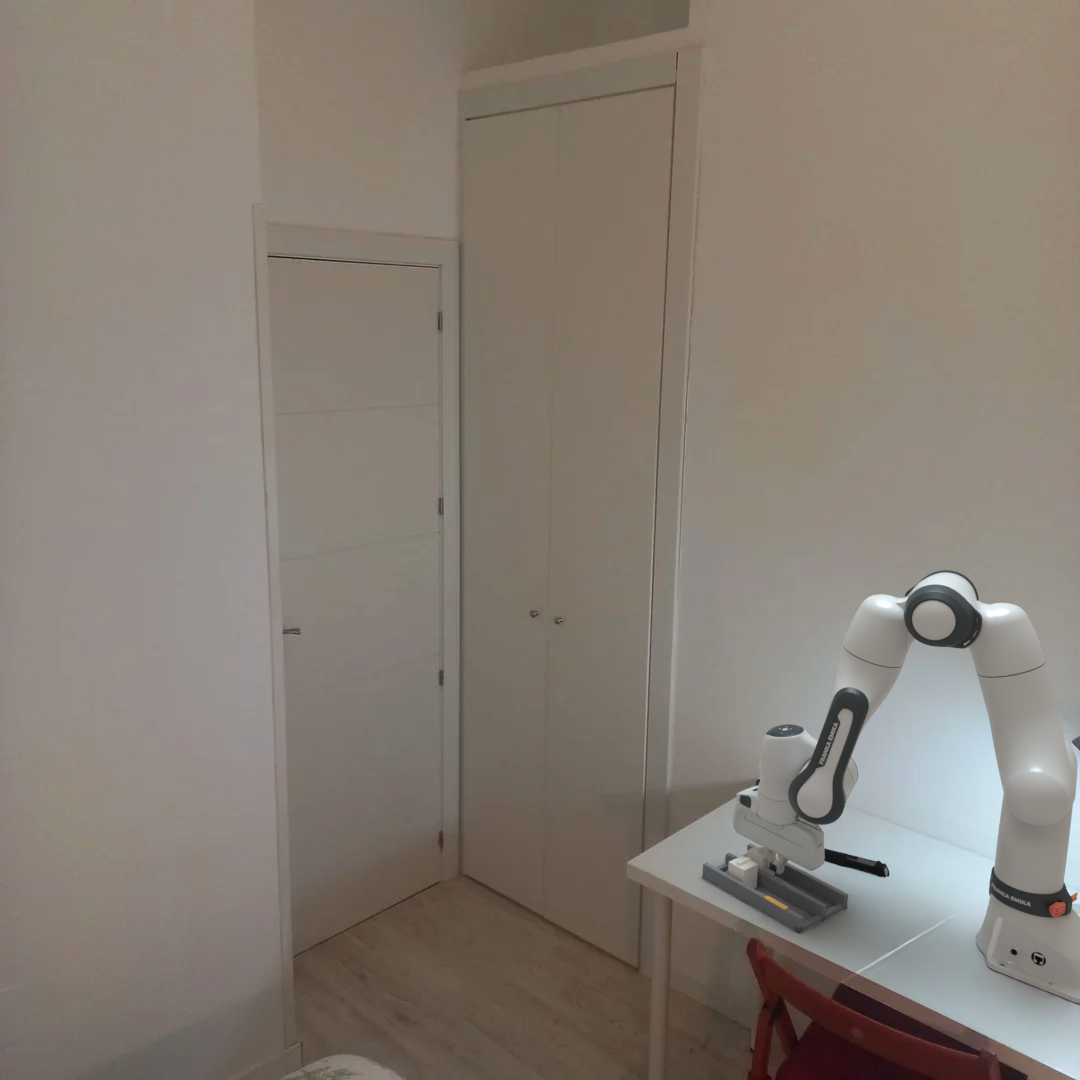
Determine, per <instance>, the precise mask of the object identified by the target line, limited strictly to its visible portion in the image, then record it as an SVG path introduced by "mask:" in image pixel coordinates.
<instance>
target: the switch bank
mask: <svg viewBox="0 0 1080 1080" xmlns="http://www.w3.org/2000/svg"><path fill="white" fill-rule="evenodd" d="M756 846H757V845H755V844H752V843H747V845H746V847H747V848H746V851H747V850H749V849H751V848H753V847H756ZM741 856H744V857H747V853H746V854H743V855H741ZM741 856H739V857H741ZM739 857H737V855H734V854H732V853H731V852H727V853H725V857H724V858H725V859H724V861H725V862H724V863H721V864H720V865H718V866H714V865H713V864H710V863H709V862H704V863H702V878H703V879H705V880H706V881H708V882H710V883H712V884H713V885H715V886H717V887H718V888H720V889H721V890H724V891H725V892H727V893H729V894H730V895H732V896H734V897H736V898H737V899H739V900H741V901H743V902H744V903H745V904H747V905H750V906H751V907H753V908H754V909H756V910H758V911H760V912H761V913H763V914H765V915H766V916H768V917H770V918H772V919H773V920H775V921H777V922H778V923H780V924H782V925H784V926H786V927H787V928H789V929H790V930H792V931H793V932H796V933H798V934H802V933H803V932H805V931H807V930H808V929H810V928H813V927H815V926H816V925H819V924H820V923H822V922H824V921H825V920H827V919H831V917H834V916H835V915H837V914H840V913H841V912H843V911H845V910H846V909H848V900H849V899H848V898H849V894H848V893H847V892H845V891H843V890H841V889H839V888H837V887H835V886H833V885H832V884H831V883H828V882H826V881H824V880H822V879H820V878H818V877H816V876H814V875H812V874H811V873H808V872H807V871H805V870H803V869H800V868H799V867H797V866H795V865H793V864H791V863H789V862H787V863H786V864H785V866H784V872H783V873H781V874H777V873H776V872H775V875H778V877H779V876H780V877H781V878H783V879H785V880H787V881H789V882H790V883H793V884H795V886H798V887H800V888H802V889H803V890H806V891H807V892H809V893H811V894H813V895H815V896H817V897H818V898H821V899H822V900H825V902H828V903H829V904H832V905H833V906H831V907H829V908H828V909H827V905H826V904H825V903H823V902H822V901H819V900H817V899H815V898H814V897H811V896H810V895H808V894H806V893H804V892H803V891H801V890H800V889H797V888H795V887H793V886H791V885H789V884H788V883H786V882H784V881H783V880H780V879H778V878H777V877H775V876H771V875H769V874H768V873H766V872H764V871H762V870H760V869H758V874H757V887H759V888H761V889H763V890H765V891H766V892H768V893H770V894H772V895H773V896H775V897H777V898H779V899H780V900H782V901H785V902H786V903H788V904H790V905H791V906H793V907H795V908H796V909H798V910H800V911H802V912H804V913H806V914H808V915H810V918H809V919H806V920H804V919H805V918H804V916H803V915H801V914H799V913H797V911H794V910H792V909H790V908H789V906H787V905H785V904H784V903H781V902H780V901H779V900H776V899H775V898H773V897H772V896H769V895H766V894H764V893H762V892H760V891H758V890H757V889H756V888H755V889H753V888H751V887H750V886H748V885H746V884H744V883H743V882H741V881H739V880H737V879H735V878H734V877H732V876H730V875H728V872H727V871H728V864H729V861H732V860H734V859H736V858H739ZM776 860H778V861H780V859H778V855H776Z"/></svg>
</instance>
